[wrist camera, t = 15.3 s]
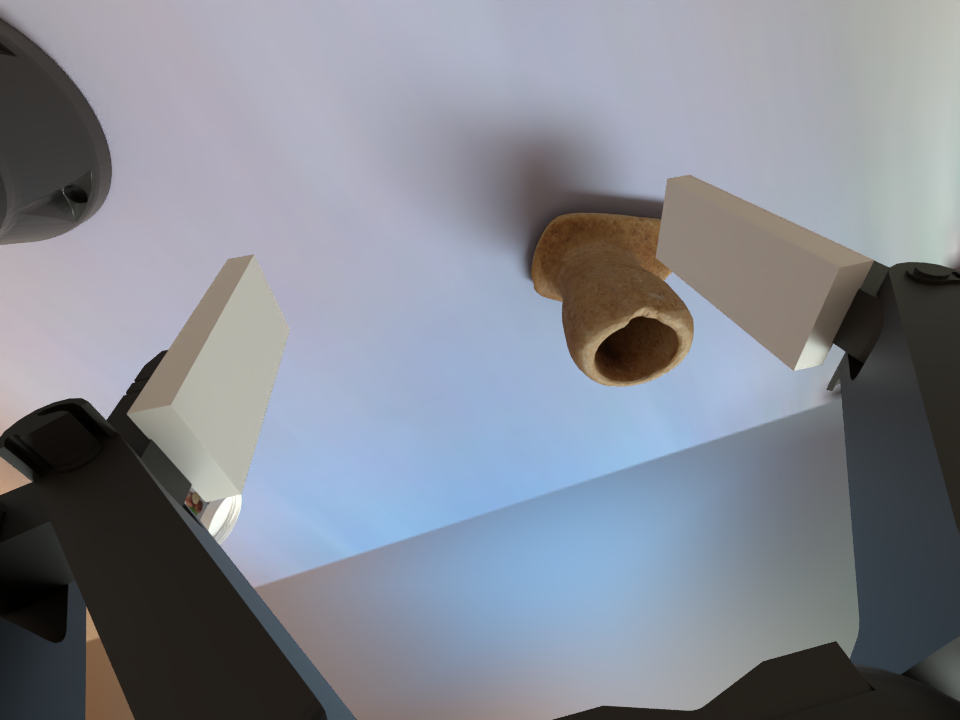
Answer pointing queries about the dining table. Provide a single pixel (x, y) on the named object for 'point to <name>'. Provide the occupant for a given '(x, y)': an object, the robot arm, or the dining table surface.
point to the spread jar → (215, 513)
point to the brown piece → (613, 296)
